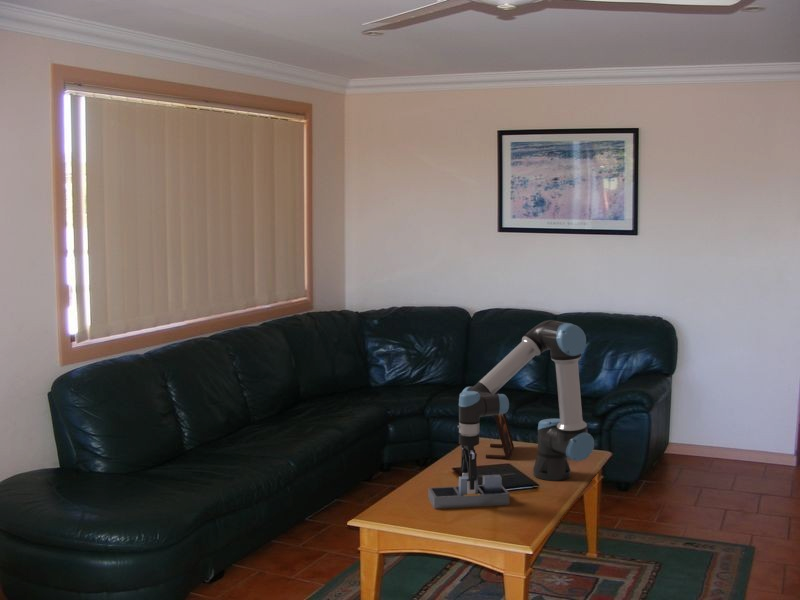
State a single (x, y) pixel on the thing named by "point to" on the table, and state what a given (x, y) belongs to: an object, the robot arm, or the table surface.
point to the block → (466, 485)
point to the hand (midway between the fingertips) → (468, 493)
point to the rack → (471, 495)
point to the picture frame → (503, 437)
